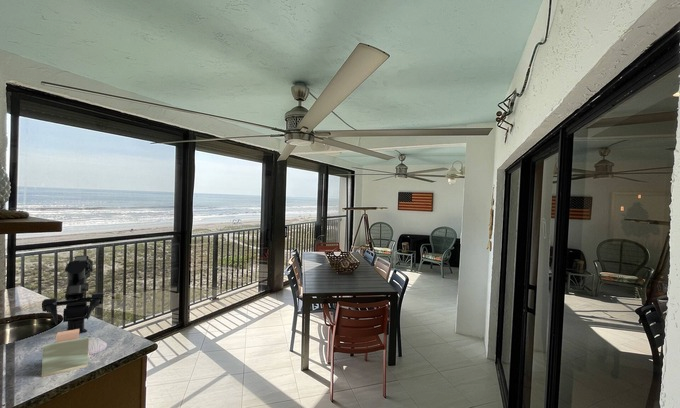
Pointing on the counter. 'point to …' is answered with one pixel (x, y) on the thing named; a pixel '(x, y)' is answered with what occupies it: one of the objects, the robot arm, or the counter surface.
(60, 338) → the salmon pink block
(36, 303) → the counter surface
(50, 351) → the pale green box
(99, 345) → the seashell
